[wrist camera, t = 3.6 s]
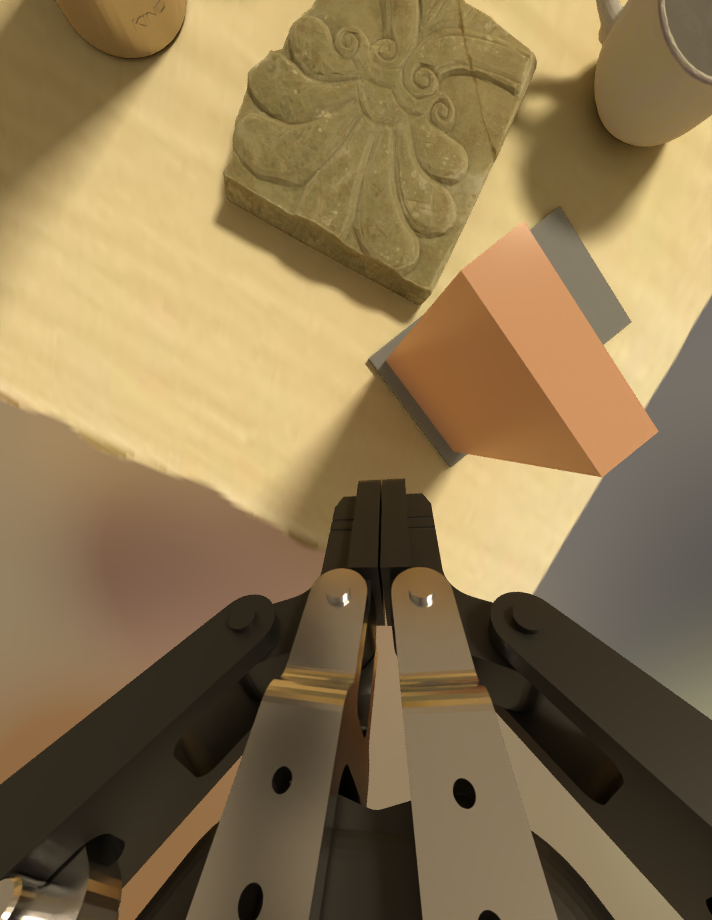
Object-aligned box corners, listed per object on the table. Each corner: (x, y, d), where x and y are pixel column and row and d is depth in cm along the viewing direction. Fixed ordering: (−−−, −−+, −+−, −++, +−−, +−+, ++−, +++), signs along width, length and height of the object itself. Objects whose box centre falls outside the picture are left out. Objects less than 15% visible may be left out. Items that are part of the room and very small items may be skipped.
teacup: (709, 105, 29) (854, -17, 21) (627, 199, 29) (740, 112, 21) (607, -27, 27) (722, -215, 19) (520, 73, 27) (599, -73, 19)
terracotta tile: (385, 360, 28) (460, 270, 12) (413, 337, 28) (525, 218, 12) (453, 451, 29) (602, 477, 13) (480, 429, 29) (660, 430, 13)
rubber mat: (368, 359, 28) (369, 358, 28) (556, 209, 29) (559, 206, 28) (449, 466, 30) (450, 467, 29) (627, 323, 30) (631, 321, 30)
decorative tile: (523, 91, 28) (551, 42, 24) (421, 309, 29) (434, 293, 25) (323, -38, 26) (322, -112, 22) (220, 202, 27) (203, 168, 23)
